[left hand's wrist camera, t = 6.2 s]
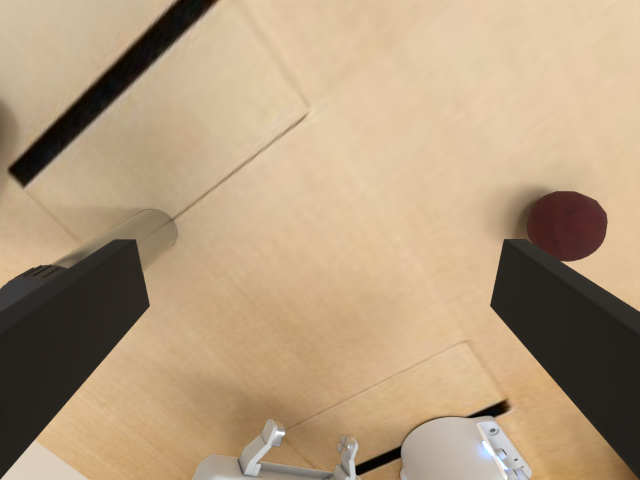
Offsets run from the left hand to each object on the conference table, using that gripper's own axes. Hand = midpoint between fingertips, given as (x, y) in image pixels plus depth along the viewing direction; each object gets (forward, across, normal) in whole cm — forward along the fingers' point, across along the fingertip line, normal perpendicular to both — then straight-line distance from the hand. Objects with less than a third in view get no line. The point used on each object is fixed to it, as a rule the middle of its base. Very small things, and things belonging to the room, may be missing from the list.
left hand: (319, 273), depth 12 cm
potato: (+28, +27, -6) cm, 39 cm away
